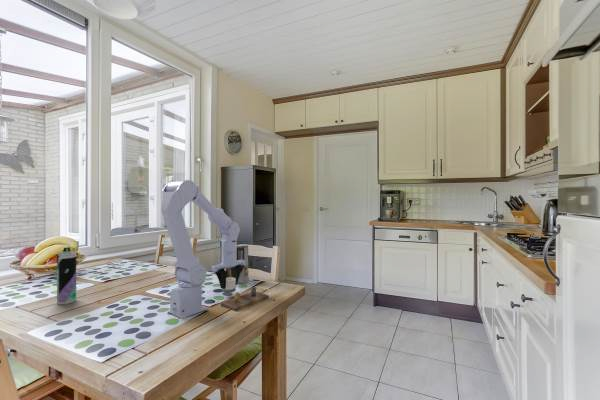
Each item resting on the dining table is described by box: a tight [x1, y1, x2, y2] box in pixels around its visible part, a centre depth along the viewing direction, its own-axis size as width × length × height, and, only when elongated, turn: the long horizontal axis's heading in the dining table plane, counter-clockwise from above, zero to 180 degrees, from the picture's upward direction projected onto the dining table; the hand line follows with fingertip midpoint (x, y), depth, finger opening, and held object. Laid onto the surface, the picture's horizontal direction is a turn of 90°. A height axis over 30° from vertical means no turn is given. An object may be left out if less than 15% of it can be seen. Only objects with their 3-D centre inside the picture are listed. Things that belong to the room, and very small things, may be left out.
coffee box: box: [225, 245, 249, 284], centre depth 128 cm, size 9×6×16 cm
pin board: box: [220, 286, 270, 312], centre depth 102 cm, size 16×8×4 cm, turn 143°
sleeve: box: [221, 277, 237, 294], centre depth 108 cm, size 5×5×4 cm
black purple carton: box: [56, 246, 77, 305], centre depth 102 cm, size 6×6×20 cm
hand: (228, 286), depth 108 cm, fingers closed on sleeve, 5 cm apart
